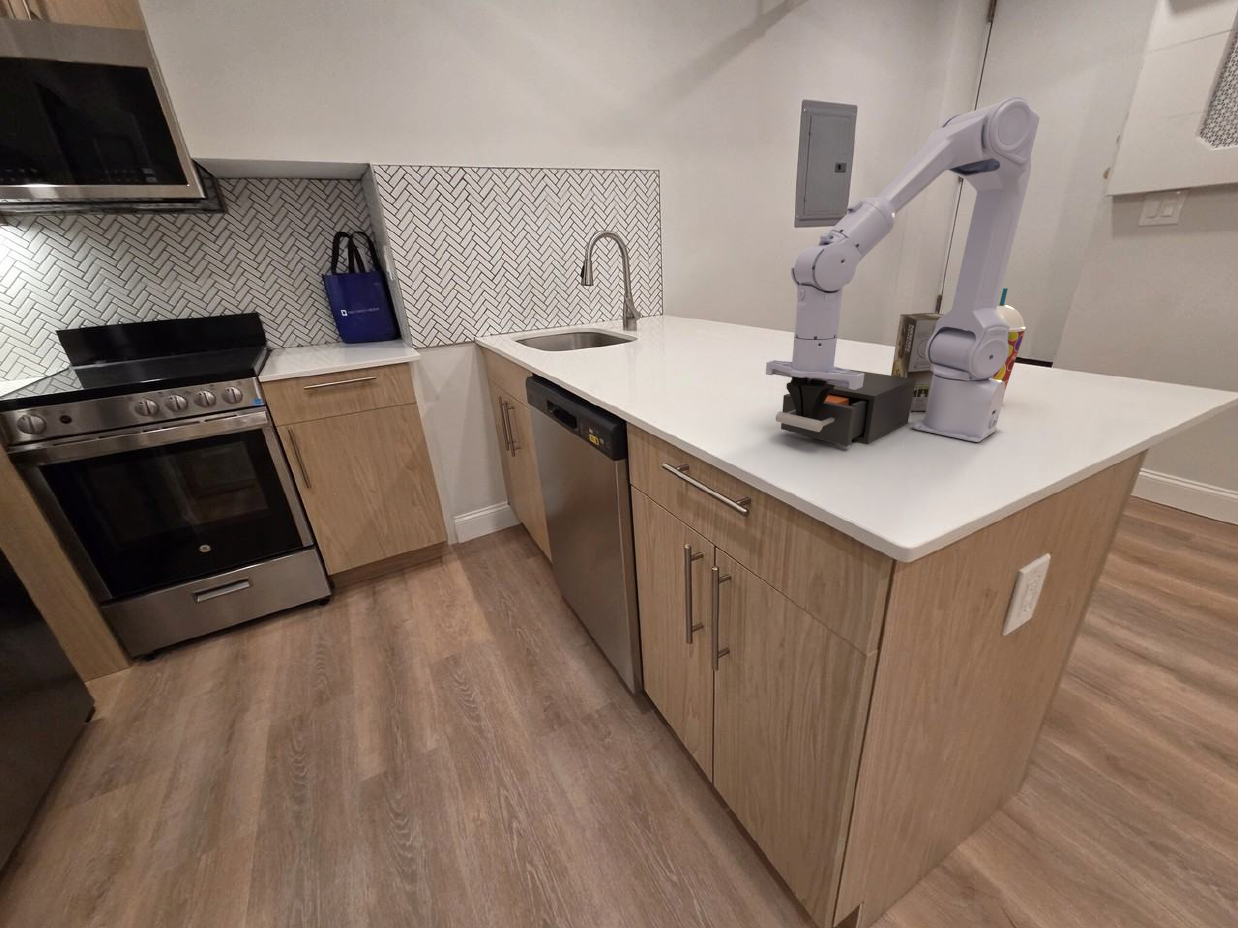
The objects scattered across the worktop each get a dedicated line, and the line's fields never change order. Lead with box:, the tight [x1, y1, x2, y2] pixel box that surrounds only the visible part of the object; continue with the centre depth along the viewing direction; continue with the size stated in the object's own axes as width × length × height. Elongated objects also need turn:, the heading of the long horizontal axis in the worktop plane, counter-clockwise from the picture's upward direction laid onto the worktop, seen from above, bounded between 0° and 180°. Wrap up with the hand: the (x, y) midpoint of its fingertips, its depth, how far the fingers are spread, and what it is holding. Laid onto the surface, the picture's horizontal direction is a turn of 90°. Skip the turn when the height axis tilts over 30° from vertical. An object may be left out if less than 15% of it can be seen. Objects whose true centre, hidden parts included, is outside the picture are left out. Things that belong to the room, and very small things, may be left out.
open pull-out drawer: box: [775, 393, 869, 447], centre depth 79 cm, size 18×11×6 cm, turn 129°
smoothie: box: [967, 287, 1027, 391], centre depth 89 cm, size 8×8×20 cm
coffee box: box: [890, 312, 944, 412], centre depth 91 cm, size 9×6×16 cm
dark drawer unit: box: [830, 368, 916, 445], centre depth 84 cm, size 14×13×8 cm
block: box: [825, 394, 850, 406], centre depth 79 cm, size 4×4×4 cm
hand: (806, 427), depth 77 cm, fingers closed, pressing on open pull-out drawer
